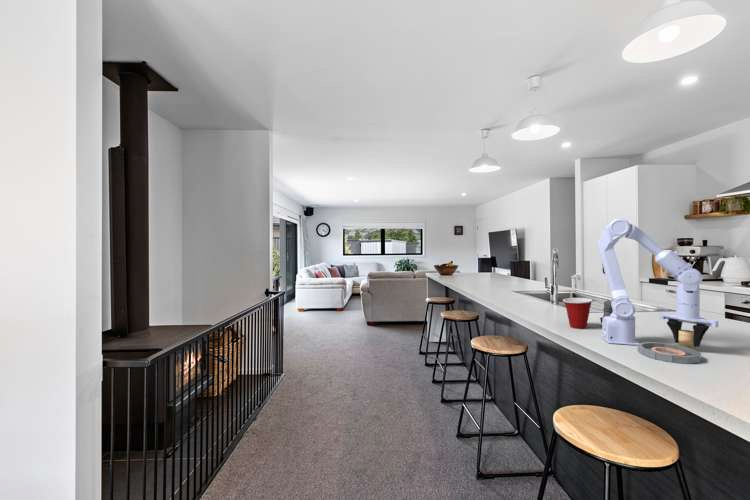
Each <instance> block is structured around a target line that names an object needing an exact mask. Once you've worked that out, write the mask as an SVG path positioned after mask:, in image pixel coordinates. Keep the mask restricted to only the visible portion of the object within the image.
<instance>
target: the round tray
mask: <svg viewBox="0 0 750 500" xmlns="http://www.w3.org/2000/svg"><path fill="white" fill-rule="evenodd" d="M637 352H638V354H640V355H642V356H645V357H647V358H650V359H654V360H658V361H662V362H667V363H674V364H685V365H694V364H699V363H701V362H702V352H700V351H698V350H697V349H696V350H694V349H691V348H687V347H684V346H680V345H678V344H674V343H666V342H658V341H657V342H656V341H649V342H648V341H647V342H646V341H645V342H639V344H638V345H637Z"/></svg>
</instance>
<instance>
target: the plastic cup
mask: <svg viewBox="0 0 750 500" xmlns="http://www.w3.org/2000/svg"><path fill="white" fill-rule="evenodd" d="M562 302H563V303H564V305H565V308H566V314H567V319H568V323H569V327H570V328H573V329H578V330H584V329H587V328H586V327H588V326H587V325H588V321H589V316H590V309H591V305H592V302H593V299H592V298H587V297H568V298H563V299H562Z"/></svg>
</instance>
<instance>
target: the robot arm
mask: <svg viewBox="0 0 750 500" xmlns="http://www.w3.org/2000/svg"><path fill="white" fill-rule="evenodd" d="M623 237H624V238H626V239H628V240H629V239H630V240H633V241H636V242H637V243H638V244H639V245H641V246H642V247H643V248H644V249H646V250H647V251H648V252H650V253H651V254H652V255H653V256H654V261H655V262H656V264H658V265H659V267H661V268H662V269H664V270H665V272H667V273H668V274H670V275H671V276H673V279H674V280H675V281H676V289H675V290H676V291H675V294H676V296H675V297H676V298H675V313H670V312H669V313H667V312H660V313H659V319H660V320H668V321H666V324H667V326H668V327H669V329H670V331H671V334H672V336H673V338H674V343H675V344H678V338H679V330H682V327H683V326H682V325H683V323H688V324H693V325H692V329H693V330H692V331H694V347H696V348H699V347H700V346H701V343H702V341H703V338H704V336H705V334H706V333H707V331H708V330H709V328H710V327H711V328H715V329H716V328H718V327H719V320H715V319H708V318H704V317H700V312H701V311H700V305H701V303H700V302H701V301H700V299H701V298H700V297H701V296H700V295H701V294H700V293H701V292H700V284H701V283H702V281H703V278H704V277H703V276H702V273H701V272H700V271H699V270H698V269H696V268H693V267H692V264H691V262H686V261H685V259H683V258H682V257H680V256H679V255H680V253H679V252H678V251H676V250H675V251H673V250H671V249H664V248H662V246H660V245H659V244H658V243H657V242H656V241H654V240H653V239H652V237H650V236H649V235H647V234H646V233H645V232H644V231H643V230H641V229H640V228H639V227H638V226H636V225H635V224H633V223H630V222H629V220H627V219H625V218H620V217H619V218H615V219H613V220H611V221H610V222H608V224H607V225H606V226H604V228H603V230H602V232H601V235H600V237H599V239H598V242H597V249H598V252H599V256H600V259H601V262H602V266H603V269H604V274H605V277H606V280H607V284H608V287H609V290H610V296H611V301H610V302H611V307H612V310H613V311H612V314H610V316H608V317H607V316H605V317H603V316H602V317H603V320H602V323H601V326H602V328H601V338H602V339H603V340H604V341H605V342H606V343H608V344H613V345H614V344H617V345H631V346H638V344H640V342H638V341H636V316H635V312H636V306H635V305H634V303H632V301H631V300H630V298H629V295H628V292H627V290H626V287H625V283H624V279H623V276H622V273H621V270H620V266H619V262H618V259H617V255H616V252H615V249H614V246H615V245H616V244H617V243H618V241H619V240H620V239H622V238H623Z"/></svg>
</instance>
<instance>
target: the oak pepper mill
mask: <svg viewBox="0 0 750 500" xmlns="http://www.w3.org/2000/svg"><path fill="white" fill-rule="evenodd" d="M677 345H680V346H684V347H687V348H691V349H694V350H696V351H697V347H694V330H688V329H681V330H679V338H678V343H677Z"/></svg>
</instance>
